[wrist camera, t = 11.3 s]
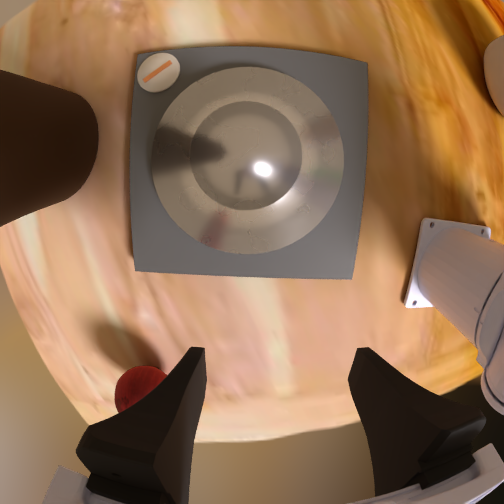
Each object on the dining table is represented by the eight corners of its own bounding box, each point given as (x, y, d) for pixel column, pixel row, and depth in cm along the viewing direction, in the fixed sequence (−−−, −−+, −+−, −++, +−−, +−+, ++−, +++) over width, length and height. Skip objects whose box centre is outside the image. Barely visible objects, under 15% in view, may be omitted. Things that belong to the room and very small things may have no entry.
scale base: (361, 67, 16) (369, 60, 14) (347, 273, 21) (353, 282, 19) (143, 59, 16) (135, 52, 14) (140, 265, 21) (132, 273, 19)
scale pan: (342, 80, 15) (346, 77, 14) (331, 254, 19) (334, 257, 18) (159, 73, 15) (156, 70, 14) (156, 247, 18) (153, 250, 18)
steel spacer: (286, 125, 15) (305, 106, 10) (281, 196, 17) (297, 213, 11) (213, 121, 15) (193, 100, 10) (209, 192, 17) (188, 207, 11)
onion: (137, 388, 25) (114, 446, 17) (123, 346, 23) (88, 405, 15) (190, 393, 25) (177, 457, 17) (181, 350, 23) (159, 418, 15)
